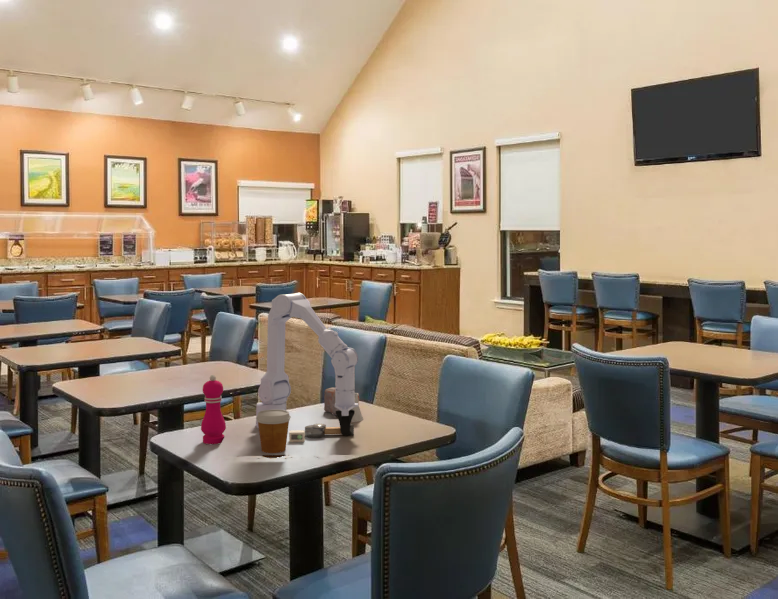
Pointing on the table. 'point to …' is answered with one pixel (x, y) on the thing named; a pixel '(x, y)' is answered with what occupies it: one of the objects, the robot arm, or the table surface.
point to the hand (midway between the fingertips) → (345, 434)
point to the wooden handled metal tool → (324, 430)
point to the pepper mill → (213, 413)
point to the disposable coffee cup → (273, 431)
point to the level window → (297, 436)
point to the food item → (330, 401)
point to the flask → (357, 411)
